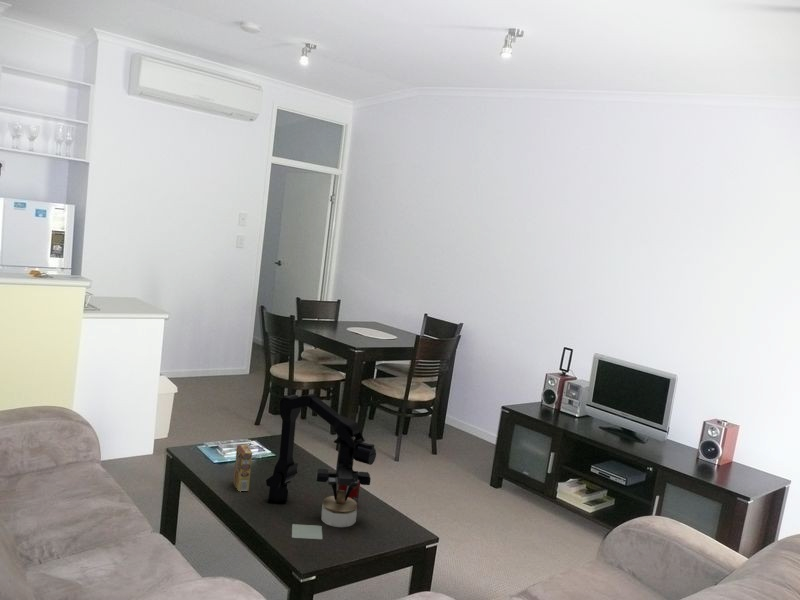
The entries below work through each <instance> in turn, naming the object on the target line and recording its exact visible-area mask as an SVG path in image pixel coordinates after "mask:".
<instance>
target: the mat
mask: <svg viewBox="0 0 800 600" xmlns="http://www.w3.org/2000/svg"><path fill="white" fill-rule="evenodd" d="M322 528H323V526H322V525H316V524H315V525H314V524H313V525H312V524H311V525H310V524H309V525H308V524H297V523H296V524H295V523H292V525H291V538H294V539H308V540H309V539H311V540H323V529H322Z"/></svg>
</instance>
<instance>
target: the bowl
mask: <svg viewBox="0 0 800 600" xmlns="http://www.w3.org/2000/svg"><path fill="white" fill-rule="evenodd" d="M357 512H358V509H357V508H356V509H355V510H353V511H349V512H338V511H333V510H330V509H328V508H326V507H325V506H324V505H323V504H322V507H321V512H320V513H321V518H320V519H321V521H322V522H323V523H324V524H326V525H327V526H331V527H335V528H348V527H351V526H353V525H355V523H356V521H357V515H358V513H357Z"/></svg>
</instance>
